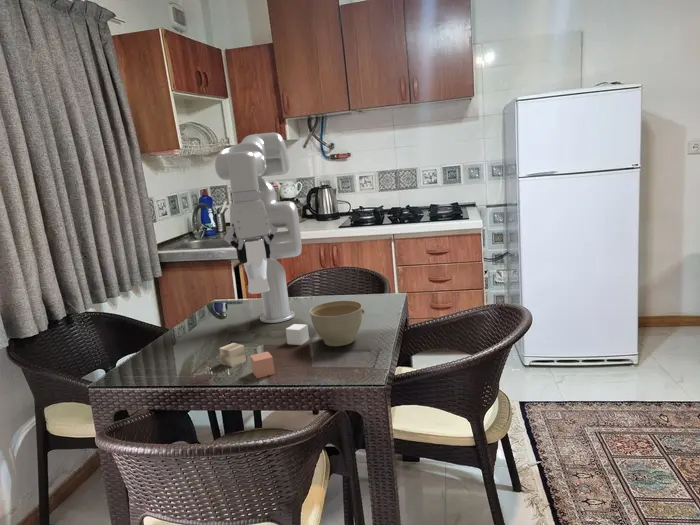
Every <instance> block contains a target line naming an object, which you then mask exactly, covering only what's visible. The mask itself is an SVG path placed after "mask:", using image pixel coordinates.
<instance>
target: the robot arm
mask: <svg viewBox="0 0 700 525" xmlns="http://www.w3.org/2000/svg"><path fill="white" fill-rule="evenodd" d="M288 154H289V153H288V151H287V146H286V143H285V140H284V138H283V136H282V135H281V134H279V133H278V132H264V133H263V132H262V133H254V134H249V135H247V136H245V137H243V139H242V140H241V142H240V143H237V144H235V145H232V146H229V147H226V148H224V149H223V148H222V149H221V150H220V151H219V152H218V153H217V155H216V157H215V162H214V168H215V172H216V174H217V176H218V177H219V178H220V179H221V180H224V181H230V182H229V184H230V188H231V189H230V191H231V197H232V203H230V207H229V223H230V224H229V225H230V226H229V227H230V229H229V230H228V231H227V232H226V233H225V235H224V237H223V240H224V241H225V242H227V243H228V244H229V245H230V246H232V247H233V248H234V249H236V256H237V261H238V262H239V263H241V264H243V265H244V263H246V258H245V251H244V249H243V248H242V247H243V243H244V240H245V239H250V238H264V242H265V247H266V253H267V273H266V275H267V282H268V285H269V288H270V290H269V291H267V292H264V293H260V295H261V303H262V310H263V314H261V315H260V317H259V320H260V321H261V322H262V323H266V324H267V323H268V324H275V323H281V322H286V321H290V320H291V319H293V318H294V317H295V312H294V311H293V310H290V301H289V293H288V286H287V277H286V270H285V268H284V266H283V265H282V264H281V263H280V262H279V261H278V260H279V259H285V258H287V259H288V258H295V257H298V256H300V255H301V253H302V250H303V246H302V245H303V244H302V243H303V242H302V237H301V236H302V235H301V228H300V227H301V226H300V217H299V210H298V207H297V205H296V204H295V202H293V201H291V200H287V201H286V200H285V201H277V200H276V189H275V188H274V186H273V185H272V184H271V183H270V181H268V180H267V179H266V178H265V177H274V176H282V175H285V174H287V173H288V172H289V170H290V160H289V155H288ZM278 229H286V230H285V231H278ZM232 238H233V239H232ZM234 239H236V240H234Z"/></svg>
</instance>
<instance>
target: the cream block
mask: <svg viewBox="0 0 700 525" xmlns="http://www.w3.org/2000/svg"><path fill="white" fill-rule="evenodd" d="M308 326H309V325H308V324H302V323H293V324H292V325H290V326H289V327H286V328H285V335H286V343H287V344H288V345H294V346H295V345H298V346H302V345H303V344H305V343H306V342H308V341H309V340H310V336H309V327H308Z"/></svg>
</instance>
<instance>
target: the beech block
mask: <svg viewBox="0 0 700 525" xmlns="http://www.w3.org/2000/svg"><path fill="white" fill-rule="evenodd" d="M245 351H246V350H245V345H243V344H241V343H236V342H232V343H230V344H227V345H224V346H222V347H219V356H220V360H221V362H220V363H221V365H224V366H226V365H227V366H226V367H229V366H230V367H229V368H234V367H237V366H238V364H239V365H241V364H243V363H245V361H246V362H247V358H246V352H245ZM240 363H241V364H240ZM236 365H237V366H236Z"/></svg>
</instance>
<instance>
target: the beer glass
mask: <svg viewBox="0 0 700 525" xmlns="http://www.w3.org/2000/svg"><path fill="white" fill-rule="evenodd" d="M242 248H243V249H244V251H245V258H246V263H244V264H243V267H244V270H245V274H246V275H247V281H248V284H247V285H248V293H249V294H251V295H257V294H261V293H264V292H267V291H269V290H270V288H269V285H268V282H267V275H266V273H267V253H266V247H265V242H264V238H249V239H245V240H244V243H243V247H242Z"/></svg>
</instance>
